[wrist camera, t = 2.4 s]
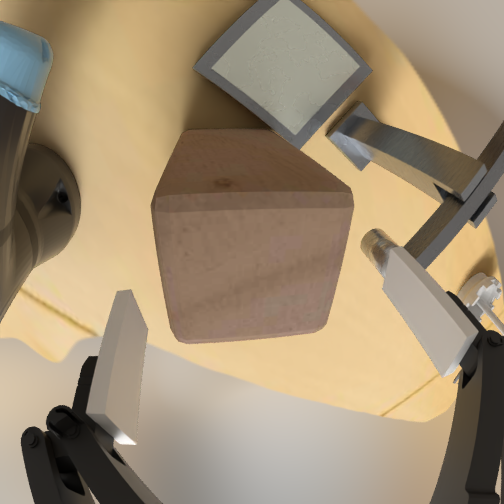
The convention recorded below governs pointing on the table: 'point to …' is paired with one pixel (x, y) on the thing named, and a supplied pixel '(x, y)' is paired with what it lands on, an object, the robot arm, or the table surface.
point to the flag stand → (481, 297)
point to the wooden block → (247, 237)
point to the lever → (441, 216)
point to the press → (327, 98)
